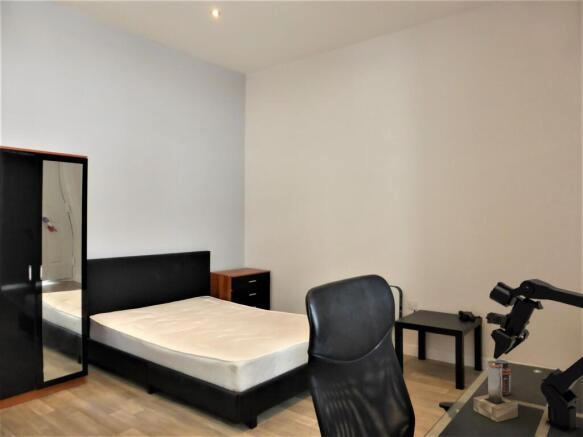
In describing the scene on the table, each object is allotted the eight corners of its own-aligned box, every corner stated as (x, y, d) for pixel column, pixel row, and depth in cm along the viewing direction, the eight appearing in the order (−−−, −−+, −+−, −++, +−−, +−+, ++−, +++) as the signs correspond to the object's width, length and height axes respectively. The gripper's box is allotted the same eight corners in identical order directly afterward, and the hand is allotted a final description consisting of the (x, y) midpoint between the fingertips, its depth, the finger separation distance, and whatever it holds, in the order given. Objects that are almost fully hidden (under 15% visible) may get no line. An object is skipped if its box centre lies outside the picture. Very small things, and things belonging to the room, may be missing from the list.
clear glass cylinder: (506, 402, 132) (505, 364, 132) (496, 405, 130) (495, 366, 130) (494, 397, 136) (493, 360, 136) (484, 399, 134) (484, 361, 134)
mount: (517, 416, 131) (517, 403, 131) (497, 422, 127) (497, 408, 127) (493, 405, 139) (493, 393, 139) (473, 410, 135) (473, 397, 135)
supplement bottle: (492, 393, 148) (491, 362, 149) (492, 388, 154) (492, 357, 154) (511, 397, 146) (510, 364, 146) (511, 391, 151) (510, 359, 151)
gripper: (505, 300, 146) (487, 338, 150) (485, 304, 133) (466, 346, 137) (538, 317, 139) (518, 356, 142) (520, 323, 126) (499, 367, 129)
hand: (500, 356), depth 138 cm, fingers open, 9 cm apart
